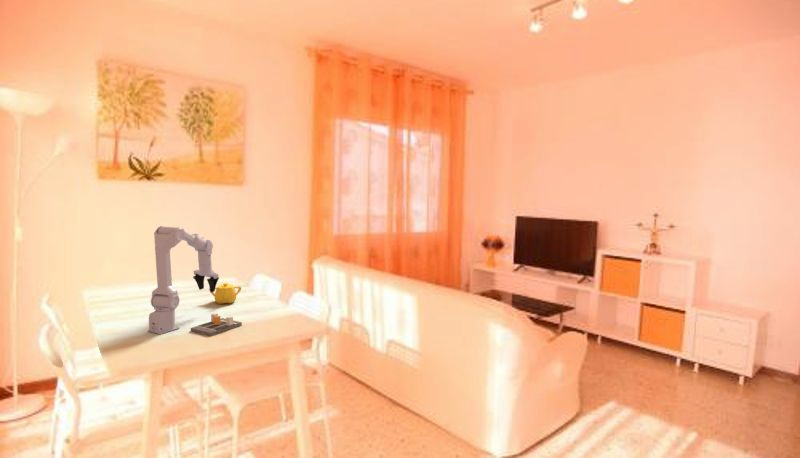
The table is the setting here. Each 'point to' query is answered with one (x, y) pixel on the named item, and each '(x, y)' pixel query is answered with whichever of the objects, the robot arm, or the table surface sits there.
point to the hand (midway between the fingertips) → (207, 290)
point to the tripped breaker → (216, 320)
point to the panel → (216, 326)
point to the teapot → (225, 293)
